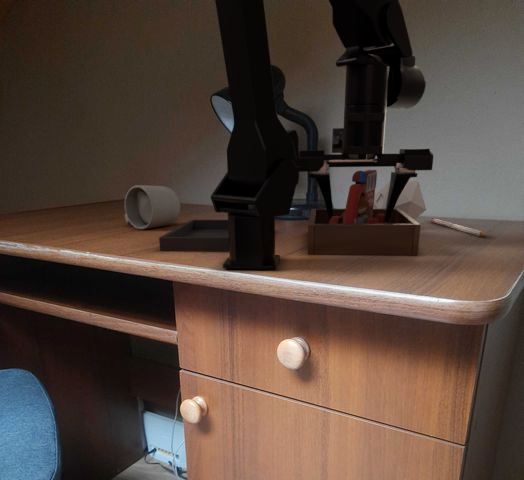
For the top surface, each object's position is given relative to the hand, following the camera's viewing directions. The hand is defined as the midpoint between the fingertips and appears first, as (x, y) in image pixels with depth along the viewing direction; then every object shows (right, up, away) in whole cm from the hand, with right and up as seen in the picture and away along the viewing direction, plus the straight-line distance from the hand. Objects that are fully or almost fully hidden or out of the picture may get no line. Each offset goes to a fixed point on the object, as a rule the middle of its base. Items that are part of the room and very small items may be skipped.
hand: (358, 222), depth 74 cm
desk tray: (-22, -1, +5) cm, 22 cm away
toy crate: (0, -3, +1) cm, 3 cm away
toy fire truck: (0, -3, +1) cm, 3 cm away
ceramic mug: (-36, +4, +20) cm, 41 cm away
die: (+10, +3, +16) cm, 19 cm away
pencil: (+19, +2, +12) cm, 23 cm away
